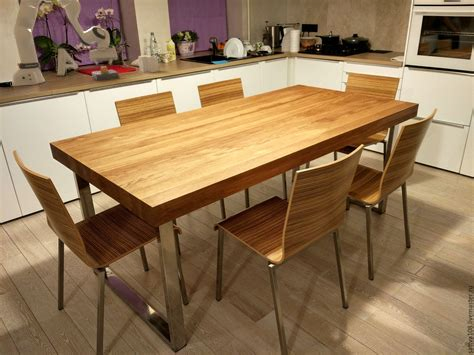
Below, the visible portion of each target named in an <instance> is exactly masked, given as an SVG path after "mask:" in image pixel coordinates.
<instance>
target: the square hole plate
mask: <svg viewBox="0 0 474 355" xmlns="http://www.w3.org/2000/svg"><path fill="white" fill-rule="evenodd" d="M107 70H108V73H101V70H95V71H91V75H92V76H91V77H92V78H93V79H94V80H95V81H104V80H114V79H119V78H120V76H119V72H118V71H116V70H114V69H107Z"/></svg>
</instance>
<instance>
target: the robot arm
mask: <svg viewBox="0 0 474 355" xmlns="http://www.w3.org/2000/svg"><path fill="white" fill-rule="evenodd" d="M53 1H54V0H20V3H19V8H18V12H17V16H16V19H15V24H14V27H13V35H14V39H15V43H16V47H17V48H16V49H17V51H18V55H19V59H20V63H17V66H18V70H17V71H16V72H14V73H13V75H12V81H11V82H12V85H11V86H12V87H13V86H14V87H19V86H29V85H31V86H32V85H38V84H41V83H44V82H45V81H46V80H45V78H44V76H43V74H42V71H41V64H40V62H39V61H38V60H39V59H38V56H37V51H36V50H37V49H36V45H35V42H34V41H35V40H34V36H33V30H34V26H35V24H36V23H35V22H36V21H37V20H36V19H37V15H38V12H39V8H40V4H41V3H42V2H47V3H51V2H53ZM56 1H57V2H58V3H60V5H61V6H62V8H63V9H64V10H65V13H66V18H67V20H68V23H69V24H70V25H71V27H72V29H73V30H74V32H75V33H76V35H77V36H78V39H79V40H80V43H81V44H82V45H83V46H85V47H91V46H92V45H93V44H95V43H97V49H96V48H95V49H90V50H89V57H88V58H89V60H90V61H91V62H94V63H95V65H96V66H99V62H101V61H102V62H103V61H108V65H109V66H110V65H112V63H113V61H117V60H118V59H119V58H118V53H117V50H116V47H115V46H114V45H111V44H110V43H111V37H110V35H111V34H110V33H109V31H108V30H107V29H104V28H100V27H99V26H95V25H94V26H92V27H91V28H89V29H88V30H86V31H85V30H84V29H83V27H82V26H81V24H80V23H79V21H78V19H79V18H78V17H79V15H80V13H81V9H82V7H81V6H82V5H81V3H80V1H79V0H56ZM98 61H99V62H98Z"/></svg>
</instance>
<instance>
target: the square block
mask: <svg viewBox="0 0 474 355" xmlns="http://www.w3.org/2000/svg"><path fill="white" fill-rule="evenodd" d="M108 70H109V69H108V66H107V65H105V66H103V65H102V66H100V71H101V73H108Z"/></svg>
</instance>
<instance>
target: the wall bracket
mask: <svg viewBox="0 0 474 355" xmlns="http://www.w3.org/2000/svg"><path fill="white" fill-rule="evenodd" d="M66 62H68V63H69V64H67V63H66ZM69 67H70V68H72V69H73V71H74V70H77V69H78V68H79V65H78V64H77V63H76V61H74V58H72V56H71V55H70V54H69V53H68V51H67V50H66V49H65V48H58V49H57V76H58V77H61V76H65V74H66V70H68V69H69Z"/></svg>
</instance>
